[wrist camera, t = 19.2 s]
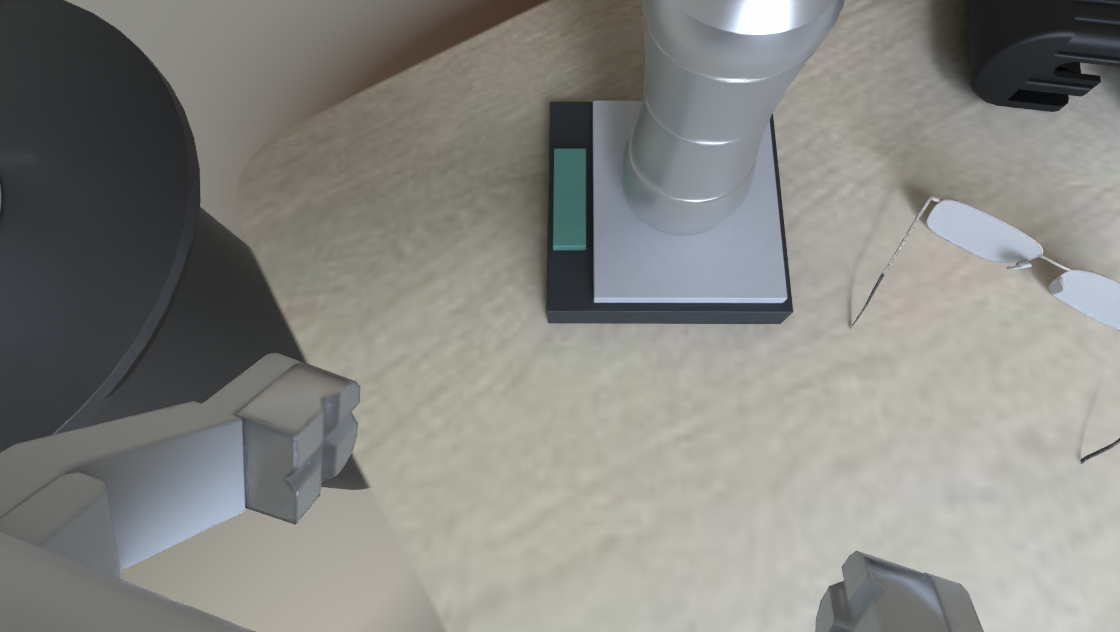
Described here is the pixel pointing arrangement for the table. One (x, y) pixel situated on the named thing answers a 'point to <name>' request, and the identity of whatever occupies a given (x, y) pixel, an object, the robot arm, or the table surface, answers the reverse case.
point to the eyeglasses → (1008, 245)
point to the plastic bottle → (711, 102)
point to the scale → (654, 237)
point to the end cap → (1040, 49)
